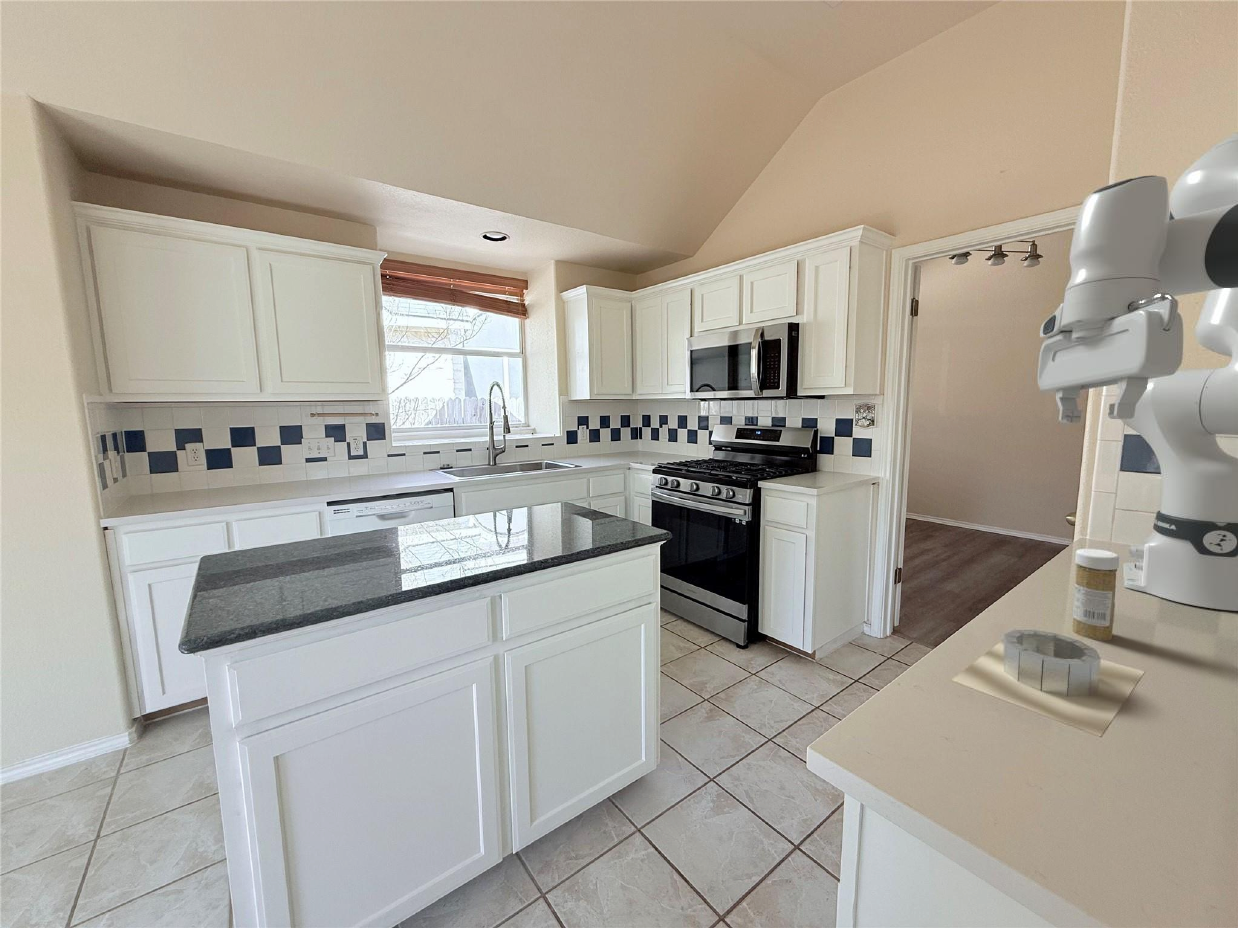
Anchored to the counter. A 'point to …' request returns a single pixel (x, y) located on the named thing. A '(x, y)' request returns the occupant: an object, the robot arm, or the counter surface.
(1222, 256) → the robot arm
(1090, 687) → the steel ring
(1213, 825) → the counter surface
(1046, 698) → the birch board
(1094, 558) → the sprinkles bottle
